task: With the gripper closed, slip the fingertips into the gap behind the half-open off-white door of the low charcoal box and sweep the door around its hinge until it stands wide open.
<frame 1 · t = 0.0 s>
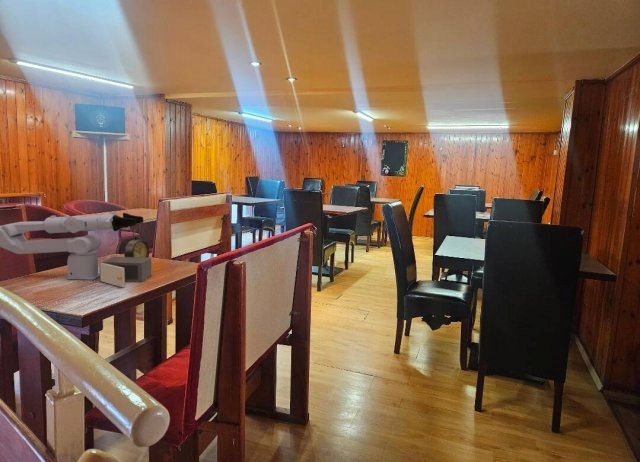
hand: (139, 220, 155), 22 cm above the table, tool horizontal, fingers open, 7 cm apart
door: (110, 274, 147), point 4 cm above the table, hinge at 35.0°
alarm clock: (136, 269, 173), on the table
housing: (127, 278, 158), on the table
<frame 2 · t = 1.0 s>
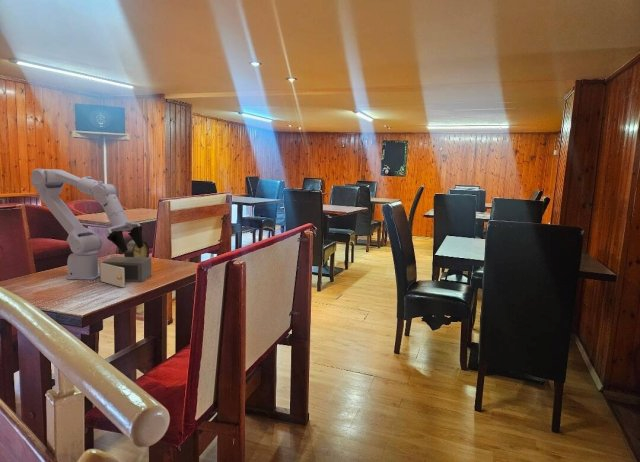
hand: (133, 249, 150), 12 cm above the table, tool tilted 30°, fingers open, 7 cm apart
nothing on the table moved.
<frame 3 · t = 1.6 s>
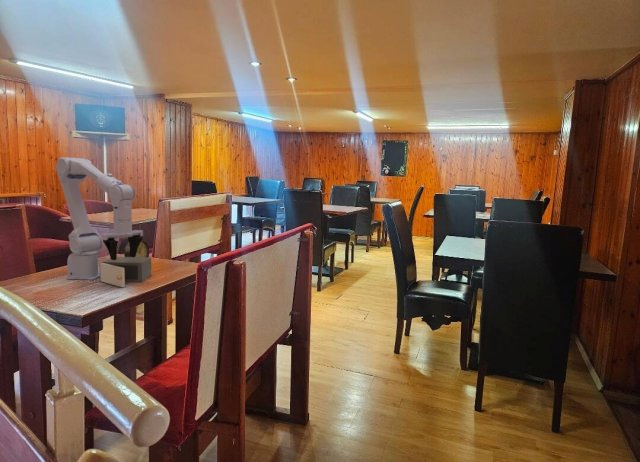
hand: (123, 258, 148), 9 cm above the table, tool pointing down, fingers open, 7 cm apart
nothing on the table moved.
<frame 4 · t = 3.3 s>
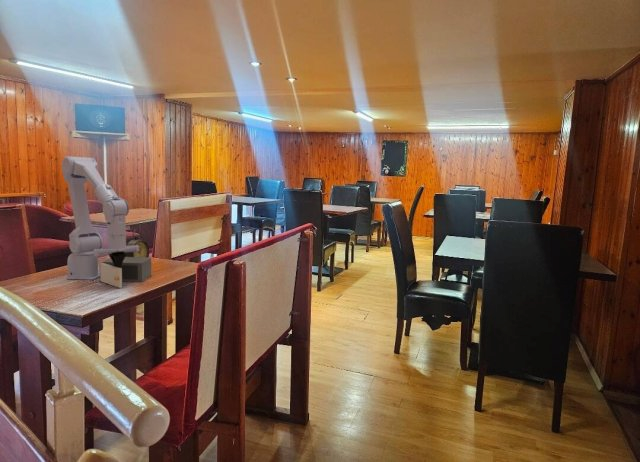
hand: (117, 273, 147), 4 cm above the table, tool pointing down, fingers closed, pressing on door
door: (109, 275, 147), point 4 cm above the table, hinge at 39.4°, touching gripper
everything else where it was.
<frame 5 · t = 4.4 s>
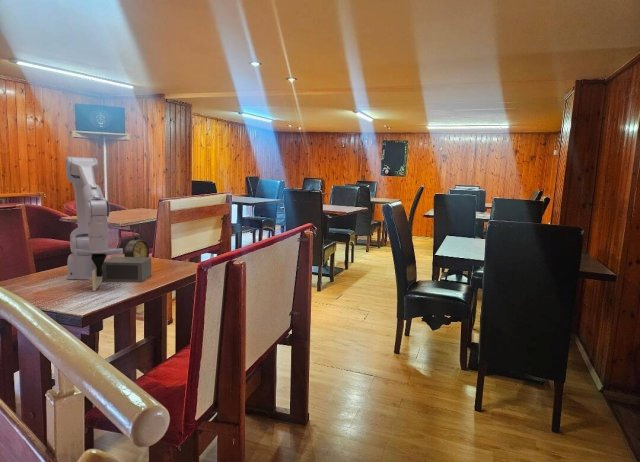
hand: (99, 275, 143), 4 cm above the table, tool pointing down, fingers closed, pressing on door
door: (96, 276, 145), point 4 cm above the table, hinge at 76.1°, touching gripper
everything else where it was.
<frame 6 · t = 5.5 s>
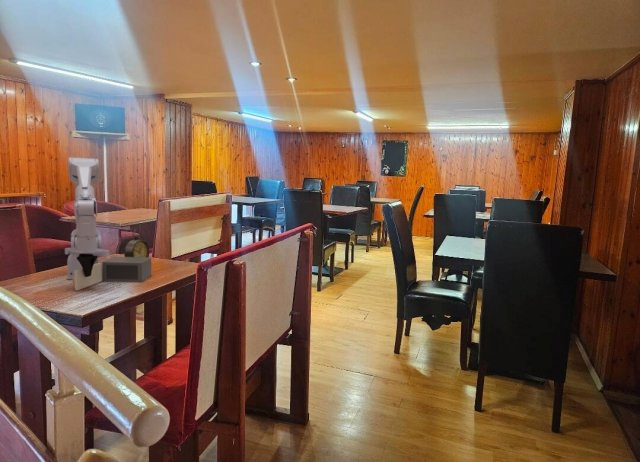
hand: (87, 276, 142), 4 cm above the table, tool pointing down, fingers closed
door: (88, 275, 145), point 4 cm above the table, hinge at 100.9°, touching gripper
everything else where it was.
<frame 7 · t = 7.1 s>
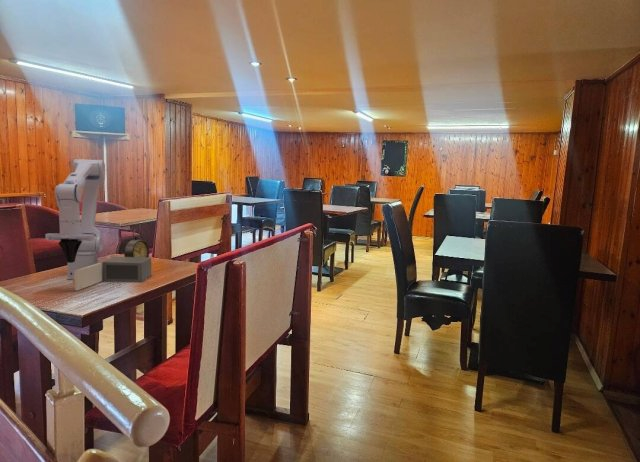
hand: (71, 262, 139), 9 cm above the table, tool pointing down, fingers closed
door: (88, 275, 145), point 4 cm above the table, hinge at 101.1°
everything else where it was.
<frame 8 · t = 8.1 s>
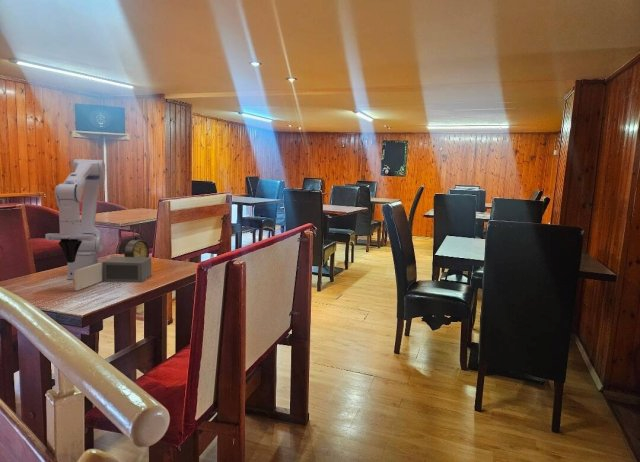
hand: (71, 262, 139), 9 cm above the table, tool pointing down, fingers closed
nothing on the table moved.
at the end: door at +101° (first picture: +35°); alarm clock moved 0.2 cm from its start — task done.
